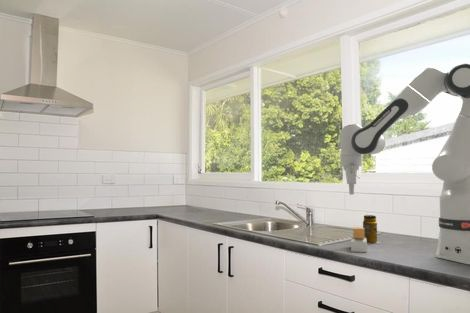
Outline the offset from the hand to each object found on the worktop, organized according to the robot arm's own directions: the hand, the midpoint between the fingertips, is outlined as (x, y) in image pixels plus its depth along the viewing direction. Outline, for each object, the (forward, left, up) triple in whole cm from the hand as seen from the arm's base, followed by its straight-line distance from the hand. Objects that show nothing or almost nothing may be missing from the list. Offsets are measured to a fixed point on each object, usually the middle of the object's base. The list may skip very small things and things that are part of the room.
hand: (351, 194), depth 160 cm
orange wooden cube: (-3, -1, -18) cm, 18 cm away
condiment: (+7, -13, -23) cm, 27 cm away
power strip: (-6, 0, -22) cm, 23 cm away
